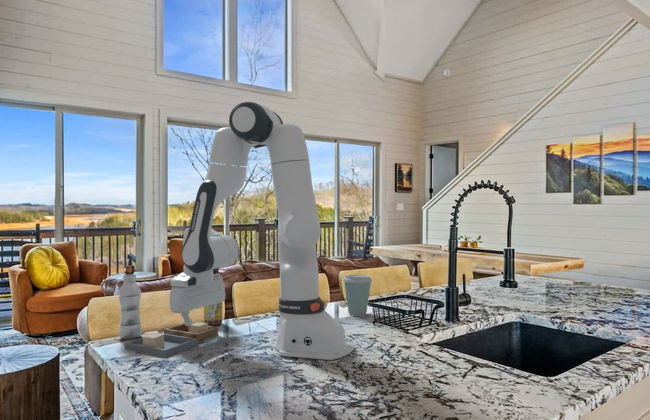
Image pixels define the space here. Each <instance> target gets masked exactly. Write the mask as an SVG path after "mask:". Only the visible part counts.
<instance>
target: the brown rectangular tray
mask: <svg viewBox="0 0 650 420" xmlns="http://www.w3.org/2000/svg"><path fill="white" fill-rule="evenodd" d="M163 333H164V334H170V335H176V336H183V337H189V338H195V339H198V343H200V342H203V341H206V340H209V339H211V338H214V337H217V336H219V327H218V326H211V325H208V330H207V331H204V332H201V333H198V334H196V333H190V332H189V326H185V322H183V323H180V324H177V325H174V326H171V327H170V326H169V327H167V328H164V329H163Z"/></svg>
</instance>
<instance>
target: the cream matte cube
mask: <svg viewBox="0 0 650 420" xmlns="http://www.w3.org/2000/svg"><path fill="white" fill-rule="evenodd" d="M208 326H209V325H208V323H204V322H200V321H196V322H194V323H193V322H192V325H189V332H190V333H196V334H198V333H201V332H204V331H207V330H208Z"/></svg>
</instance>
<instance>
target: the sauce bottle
mask: <svg viewBox="0 0 650 420" xmlns="http://www.w3.org/2000/svg"><path fill="white" fill-rule="evenodd" d="M219 271H220V268H216V269H213V274H217V273H219ZM209 310H210V307H209V305H208V306H205V307H203V320H204V321H203V323H208V326H212V327H214V326H217V325H221V324H222V323H223V322H222V321H223V302H219V303H217V308H216V310H215V312H214V314H215V317H214V318H212V319H208V318H207V316H208V315H207V313H209Z"/></svg>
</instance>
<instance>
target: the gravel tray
mask: <svg viewBox="0 0 650 420" xmlns="http://www.w3.org/2000/svg"><path fill="white" fill-rule="evenodd" d="M155 334H164V332H163V333H161V332H157V333H155ZM198 344H199V342H198V339H195V338H189V337H183V336H176V335H170V334H164V349H160V348H155V347H149V346H144V345H143V337H139V338H137V339H133V340H129V341H126V342H125V343H124V350H127V351H131V352H132V351H133V352H136V353H141V354H146V355H152V356H157V357H161V358H162V357H163V358H167V357H170V356H172V355H176V354H178V353H181V352H183V351H186V350H188V349H189V350H190V349H192V348H194V347H197V346H198Z"/></svg>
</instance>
